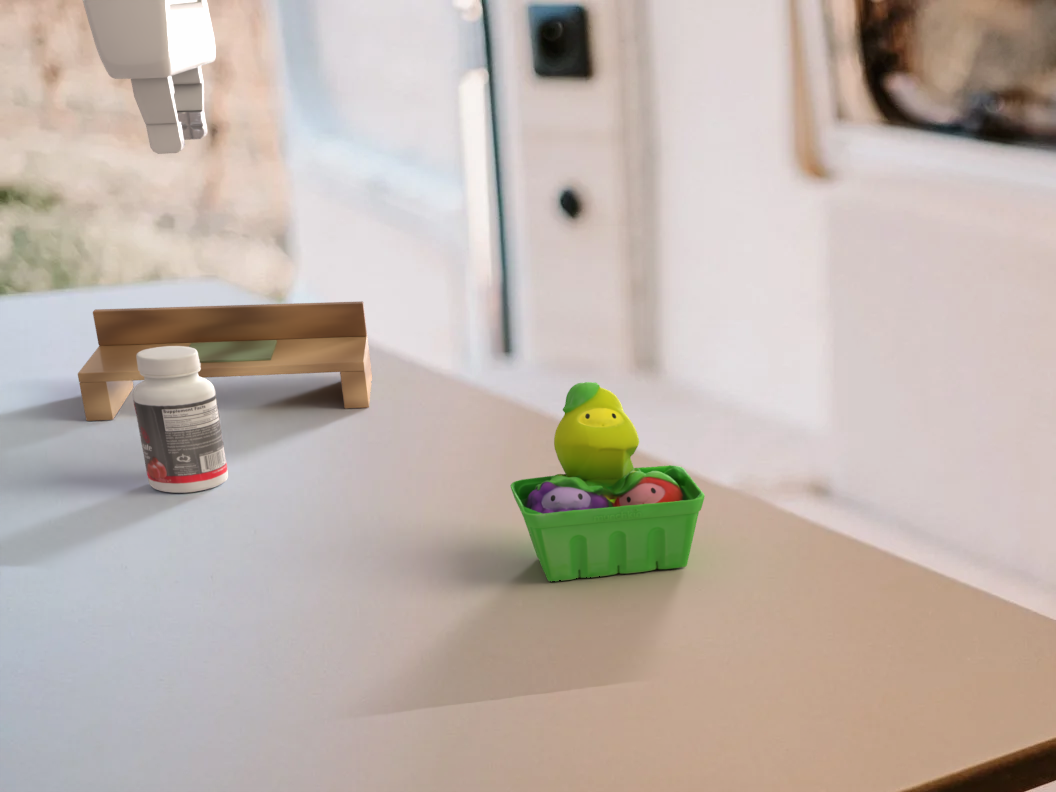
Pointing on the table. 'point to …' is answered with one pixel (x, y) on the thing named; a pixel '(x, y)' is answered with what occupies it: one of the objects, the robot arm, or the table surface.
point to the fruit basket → (606, 498)
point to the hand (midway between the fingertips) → (181, 145)
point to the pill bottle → (178, 422)
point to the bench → (230, 346)
